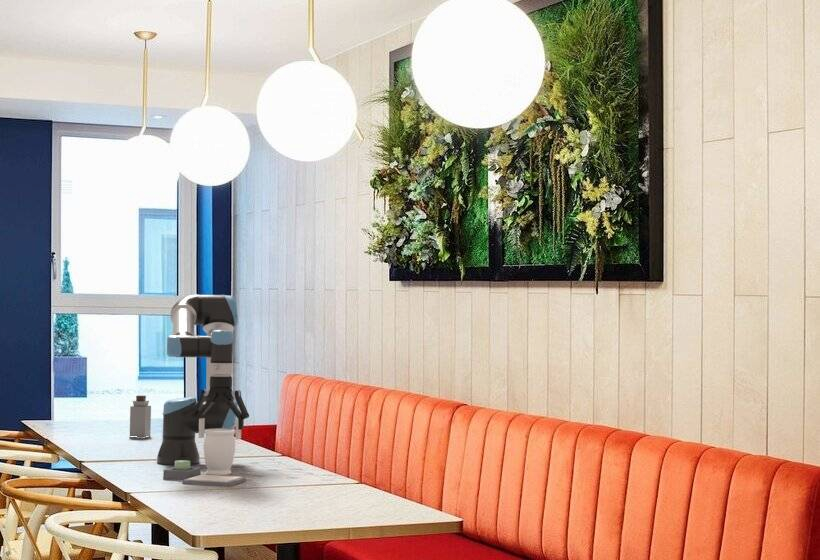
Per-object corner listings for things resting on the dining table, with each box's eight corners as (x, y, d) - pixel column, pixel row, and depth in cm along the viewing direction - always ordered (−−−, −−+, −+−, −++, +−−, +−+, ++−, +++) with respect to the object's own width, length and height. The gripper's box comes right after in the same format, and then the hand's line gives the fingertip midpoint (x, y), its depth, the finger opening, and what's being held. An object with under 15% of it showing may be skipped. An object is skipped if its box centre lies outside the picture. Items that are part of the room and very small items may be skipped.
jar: (197, 474, 375) (198, 430, 375) (212, 471, 385) (213, 427, 385) (224, 477, 371) (226, 431, 372) (240, 473, 381) (241, 429, 381)
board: (182, 483, 355) (182, 479, 355) (200, 478, 367) (200, 473, 367) (228, 486, 350) (228, 482, 350) (245, 481, 363) (245, 476, 363)
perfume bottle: (135, 436, 488) (136, 395, 488) (150, 436, 487) (151, 395, 487) (129, 437, 481) (130, 396, 482) (144, 438, 480) (145, 396, 481)
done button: (171, 471, 366) (172, 461, 366) (179, 469, 370) (179, 459, 371) (185, 472, 364) (185, 462, 364) (192, 470, 369) (192, 460, 369)
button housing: (163, 479, 364) (163, 469, 364) (176, 475, 373) (176, 466, 373) (188, 480, 362) (188, 471, 362) (200, 476, 370) (201, 467, 371)
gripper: (182, 375, 379) (181, 437, 378) (250, 376, 372) (249, 440, 371) (192, 374, 386) (191, 436, 385) (259, 376, 379) (258, 439, 378)
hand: (219, 438), depth 378 cm, fingers open, 13 cm apart
